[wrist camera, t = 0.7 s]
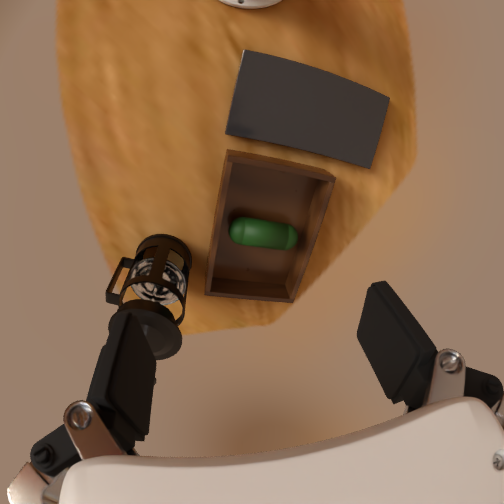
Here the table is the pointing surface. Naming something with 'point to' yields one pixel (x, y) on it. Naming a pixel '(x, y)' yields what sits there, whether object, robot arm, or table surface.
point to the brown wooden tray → (271, 209)
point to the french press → (155, 292)
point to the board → (305, 109)
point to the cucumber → (262, 233)
